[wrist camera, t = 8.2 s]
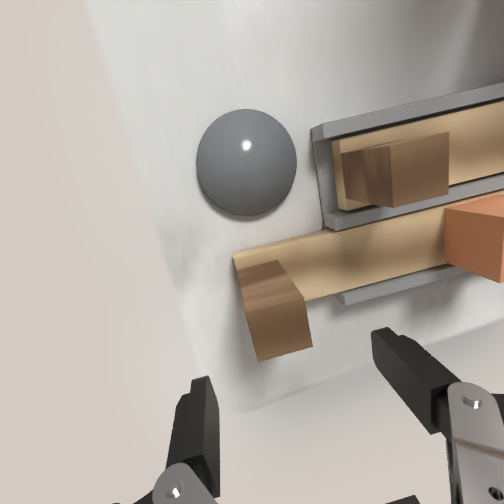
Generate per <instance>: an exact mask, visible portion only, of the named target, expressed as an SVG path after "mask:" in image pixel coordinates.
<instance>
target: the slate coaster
mask: <svg viewBox="0 0 504 504" xmlns="http://www.w3.org/2000/svg"><path fill="white" fill-rule="evenodd" d="M196 165H197V173H198V177H199V180H200V183H201V185H202V187H203V189H204V191H205V192H206V194H207V195H208V197H209V198H210V199H211V200H212V201H213V202H214V203H215V204H216V205H218V206H219V207H220V208H222V209H224V210H226V211H228V212H230V213H233V214H237V215H245V216H248V215H257V214H261V213H264V212H266V211H268V210H270V209H272V208H273V207H275V206H276V205H277V204H279V203H280V202H281V201H282V200H283V199H284V198H285V196H286V195H287V193H288V192H289V190H290V188H291V186H292V184H293V181H294V178H295V174H296V168H297V159H296V152H295V147H294V144H293V142H292V139H291V137H290V135H289V134H288V132H287V131H286V129H285V128H284V127H283V126H282V125H281V124H280V123H279V122H278V121H277V120H276V119H274V118H273V117H271V116H270V115H268V114H266V113H263V112H260V111H257V110H251V109H241V110H235V111H232V112H229V113H227V114H224V115H222V116H221V117H219V118H218V119H216V120H215V121H214V122H213V123H212V124H211V125H210V126H209V127H208V129H207V130H206V131H205V133H204V135H203V136H202V139H201V141H200V144H199V147H198V151H197V159H196Z"/></svg>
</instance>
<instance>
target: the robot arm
mask: <svg viewBox="0 0 504 504" xmlns="http://www.w3.org/2000/svg"><path fill="white" fill-rule="evenodd" d="M371 341H372V353H373V359H374V362H375V365H376V367H377V368H378V370H379V371H380V372H381V374H382V375H383V376H384V377H385V379H386V380H387V381H388V382H389V384H390V385H391V386H392V387H393V389H394V390H395V391H396V392H397V394H398V395H399V396H400V397H401V398H402V400H403V401H404V402H405V403H406V405H407V406H408V407H409V408H410V410H411V411H412V412H413V413H414V415H415V416H416V417H417V418H418V420H419V421H420V422H421V423H422V425H423V426H424V427H425V428H426V430H427V431H428V432H429V433H430V435H431V434H435V433H438V432H441V433H442V434H443V435H444V436H445V438H446V450H447V460H448V470H449V481H450V491H451V504H504V394H490V393H489V392H488V391H487V390H485V389H483V388H482V387H479V386H477V385H475V384H472V383H467V382H462V381H461V380H459V379H458V378H457V377H456V376H455V375H454V374H453V373H451V372H450V371H449V370H448V369H447V368H446V367H445V366H443V365H442V364H441V363H440V362H439V361H438V360H436V359H435V358H434V357H432V356H431V354H429V353H428V352H427V351H426V350H424V348H423V347H422V346H420V345H419V344H418V343H417V342H416V341H415V340H413V339H411V338H408V337H406V336H404V335H400V336H398V335H396V334H395V333H394V332H393V331H392V330H391V329H390V328H388V327H385V328H382V329H378V330H374V331H372V332H371ZM219 435H220V433H219V407H218V402H217V398H216V395H215V392H214V389H213V387H212V384H211V381H210V378H209V376H204V377H200V378H197V379H193V380H192V382H191V390H190V393H188V394H185V395H182V397H181V399H180V401H179V402H178V404H177V406H176V411H175V419H174V423H173V429H172V434H171V441H170V446H169V452H168V458H167V464H166V468H165V471H164V472H163V473H162V474H161V475H160V476H159V478H158V479H157V481H156V483H155V486H154V489H153V490H152V491H151V492H150V493H148V494H147V495H146V496H144V497H143V498H141V499H140V500H138V501H137V502H135V503H134V504H218V503H217V502H216V501H215V499H214V498H217V497H220V436H219ZM114 504H119V503H114ZM386 504H420V503H419V501H418V499H417V498H416V496H415V495H412V496H409V497H406V498H403V499H399V500H396V501H393V502H390V503H386Z"/></svg>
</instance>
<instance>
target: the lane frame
mask: <svg viewBox="0 0 504 504" xmlns="http://www.w3.org/2000/svg"><path fill="white" fill-rule="evenodd" d="M502 101H504V82H502V83H498V84H493V85H489V86H484V87H480V88H476V89H471V90H467V91H463V92H458V93H454V94H450V95H445V96H441V97H437V98H432V99H428V100H424V101H419V102H415V103H410V104H406V105H402V106H397V107H393V108H389V109H384V110H380V111H376V112H371V113H367V114H363V115H358V116H354V117H349V118H345V119H341V120H336V121H332V122H328V123H323V124H321V125H319V126H316V127H314V128H312V129H311V135H312V142H313V149H314V156H315V164H316V171H317V178H318V185H319V192H320V199H321V207H322V214H323V221H324V228H325V230H326V229H330V228H331V229H333V230H335V231H337V230H341V229H345V228H349V227H353V226H357V225H361V224H365V223H369V222H373V221H377V220H381V219H385V218H388V217H392V216H396V215H400V214H404V213H408V212H412V211H416V210H420V209H424V208H428V207H432V206H436V205H440V204H443V203H447V202H451V201H455V200H459V199H463V198H467V197H471V196H475V195H479V194H483V193H487V192H491V191H495V190H498V189H502V188H504V172H500V173H496V174H492V175H488V176H484V177H480V178H476V179H472V180H468V181H464V182H460V183H456V184H452V185H449V194H448V195H444V196H440V197H436V198H432V199H428V200H424V201H420V202H416V203H412V204H408V205H404V206H400V207H396V208H390V207H385V206H380V205H375V204H372V205H368V206H364V207H360V208H356V209H352V210H348V211H346V210H343V209H339V208H338V200H337V192H336V183H335V175H334V167H333V158H332V150H331V142H332V141H336V140H339V139H343V138H348V137H352V136H356V135H361V134H365V133H369V132H373V131H378V130H382V129H386V128H390V127H395V126H399V125H403V124H408V123H412V122H416V121H420V120H425V119H429V118H433V117H437V116H442V115H446V114H450V113H455V112H459V111H463V110H467V109H472V108H476V107H480V106H484V105H489V104H493V103H497V102H502ZM469 272H470V271H467V270H464V269H462V268H459V267H457V266H454V265H452V264H449V263H446V264H442V265H439V266H435V267H431V268H427V269H424V270H420V271H416V272H413V273H409V274H405V275H401V276H398V277H394V278H390V279H386V280H383V281H379V282H375V283H372V284H368V285H364V286H360V287H357V288H353V289H349V290H346V291H342V292H338V293H334V295H335V296H336V297H337V298H338V299H339V300H340V301H341V302H342V303H343V304H344V305H345V306H348V305H352V304H355V303H359V302H363V301H366V300H370V299H374V298H377V297H381V296H385V295H388V294H392V293H396V292H399V291H403V290H407V289H410V288H414V287H418V286H421V285H425V284H429V283H432V282H436V281H440V280H443V279H447V278H451V277H454V276H458V275H462V274H465V273H469Z"/></svg>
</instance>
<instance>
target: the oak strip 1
mask: <svg viewBox="0 0 504 504" xmlns="http://www.w3.org/2000/svg"><path fill="white" fill-rule="evenodd" d="M331 150H332V158H333V167H334V175H335V183H336V192H337V200H338V208H339V209H343V210H346V211H348V210H352V209H356V208H360V207H364V206H368V205H372V204H375V205H380V206H385V207H390V208H396V207H400V206H404V205H408V204H412V203H416V202H420V201H424V200H428V199H432V198H436V197H440V196H444V195H448V194H449V185H452V184H456V183H460V182H464V181H468V180H472V179H476V178H480V177H484V176H488V175H492V174H496V173H500V172H504V101H502V102H497V103H493V104H489V105H484V106H480V107H476V108H472V109H467V110H463V111H459V112H455V113H450V114H446V115H442V116H437V117H433V118H429V119H425V120H420V121H416V122H412V123H408V124H403V125H399V126H395V127H390V128H386V129H382V130H378V131H373V132H369V133H365V134H361V135H356V136H352V137H348V138H343V139H339V140H336V141H332V142H331Z"/></svg>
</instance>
